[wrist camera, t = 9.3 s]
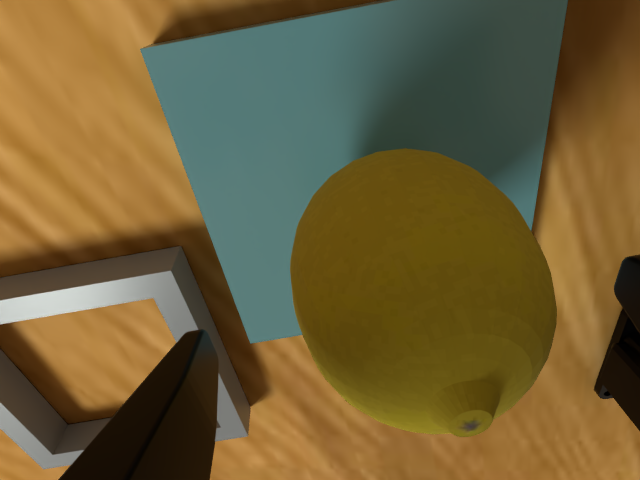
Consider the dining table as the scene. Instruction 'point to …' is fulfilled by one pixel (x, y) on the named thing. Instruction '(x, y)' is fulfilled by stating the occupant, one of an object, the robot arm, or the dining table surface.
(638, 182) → the dining table surface
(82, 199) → the dining table surface
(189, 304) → the holder
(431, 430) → the lemon
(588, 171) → the dining table surface
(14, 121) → the dining table surface
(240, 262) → the tile
